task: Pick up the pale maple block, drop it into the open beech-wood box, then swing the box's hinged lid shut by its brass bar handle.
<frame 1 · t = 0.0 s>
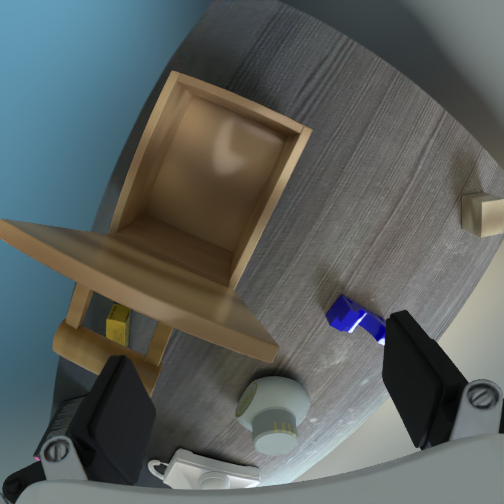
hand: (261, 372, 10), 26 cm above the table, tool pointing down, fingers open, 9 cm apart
telephone: (198, 472, 52), on the table
cable holder: (355, 316, 40), on the table
air freshener: (271, 392, 44), on the table
chest: (213, 173, 33), on the table
medication box: (122, 338, 40), on the table
tampon box: (95, 416, 46), on the table
lid: (141, 304, 18), point 18 cm above the table, hinge at 70.0°
block: (473, 209, 35), on the table
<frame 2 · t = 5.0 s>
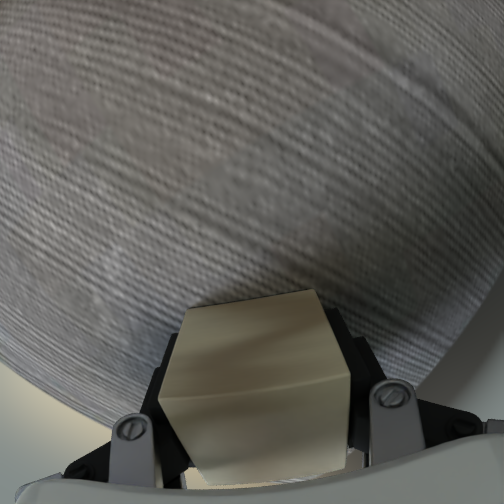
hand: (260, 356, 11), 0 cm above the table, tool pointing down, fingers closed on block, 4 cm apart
block: (260, 350, 12), on the table, touching gripper
when the fingers open (7 cm above the table, at t = 14.1 s): block drops 6 cm, resting on chest.
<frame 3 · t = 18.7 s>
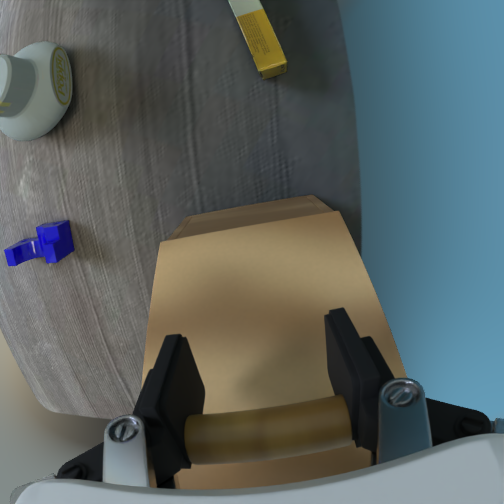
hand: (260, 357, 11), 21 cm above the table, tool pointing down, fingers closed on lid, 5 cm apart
cable holder: (46, 237, 31), on the table
air freshener: (47, 93, 26), on the table
chest: (262, 278, 33), on the table
medication box: (251, 27, 24), on the table
lid: (257, 311, 14), point 18 cm above the table, hinge at 64.5°, touching gripper
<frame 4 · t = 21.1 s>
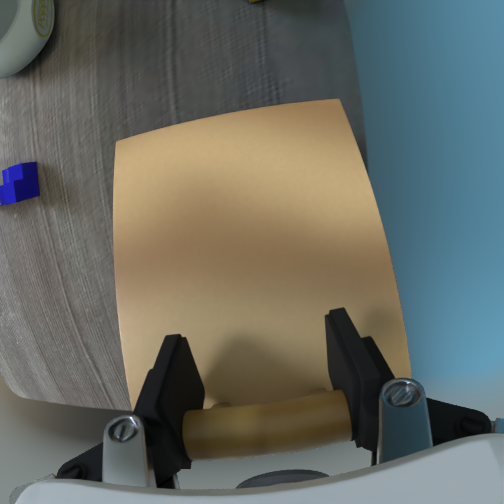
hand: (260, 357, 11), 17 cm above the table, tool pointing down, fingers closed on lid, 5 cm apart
cable holder: (13, 185, 25), on the table
air freshener: (29, 36, 20), on the table
lid: (243, 256, 12), point 15 cm above the table, hinge at 31.7°, touching gripper
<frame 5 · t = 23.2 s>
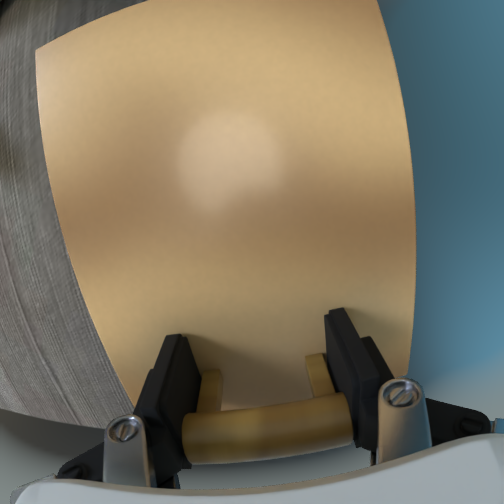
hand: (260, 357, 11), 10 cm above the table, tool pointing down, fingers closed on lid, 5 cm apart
lid: (229, 231, 8), point 11 cm above the table, hinge at -0.2°, touching chest, gripper
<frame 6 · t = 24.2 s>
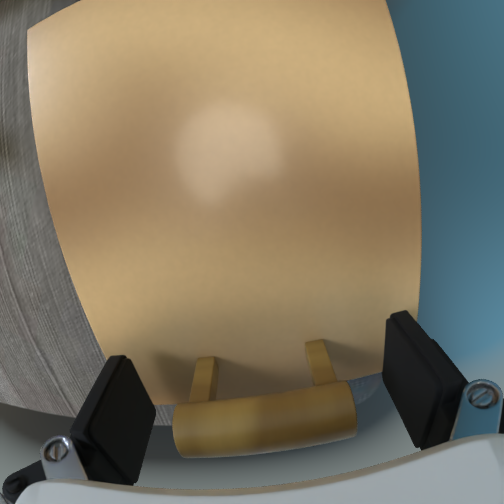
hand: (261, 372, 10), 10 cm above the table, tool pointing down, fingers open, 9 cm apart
lid: (223, 204, 8), point 11 cm above the table, hinge at -0.2°, touching chest
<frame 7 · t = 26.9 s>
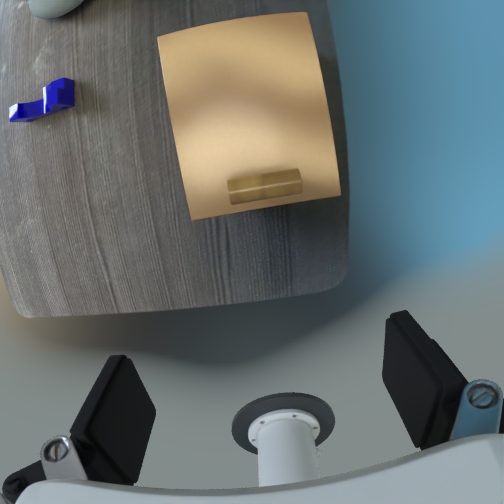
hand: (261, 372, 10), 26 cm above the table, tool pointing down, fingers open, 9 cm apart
cable holder: (50, 101, 30), on the table
lid: (249, 105, 21), point 11 cm above the table, hinge at -0.2°, touching chest
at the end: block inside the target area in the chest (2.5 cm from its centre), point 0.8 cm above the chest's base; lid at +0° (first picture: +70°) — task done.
